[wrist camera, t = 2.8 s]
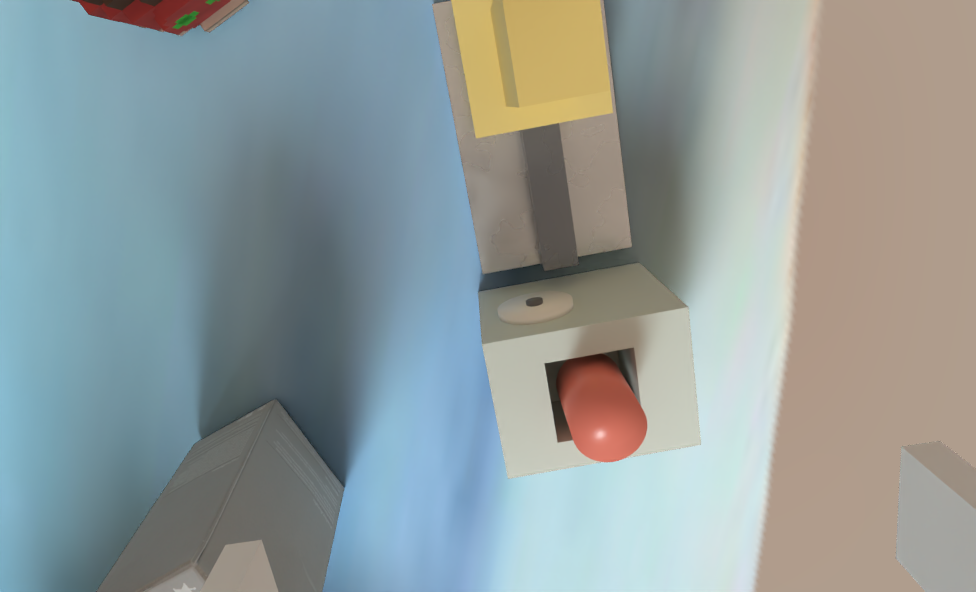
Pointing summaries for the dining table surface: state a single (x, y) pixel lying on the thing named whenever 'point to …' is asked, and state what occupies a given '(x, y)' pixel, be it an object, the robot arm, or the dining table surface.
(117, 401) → the dining table surface
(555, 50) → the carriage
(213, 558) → the skincare box
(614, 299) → the cabinet
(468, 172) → the rail base
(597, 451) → the button
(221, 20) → the red brown figurine
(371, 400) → the dining table surface
